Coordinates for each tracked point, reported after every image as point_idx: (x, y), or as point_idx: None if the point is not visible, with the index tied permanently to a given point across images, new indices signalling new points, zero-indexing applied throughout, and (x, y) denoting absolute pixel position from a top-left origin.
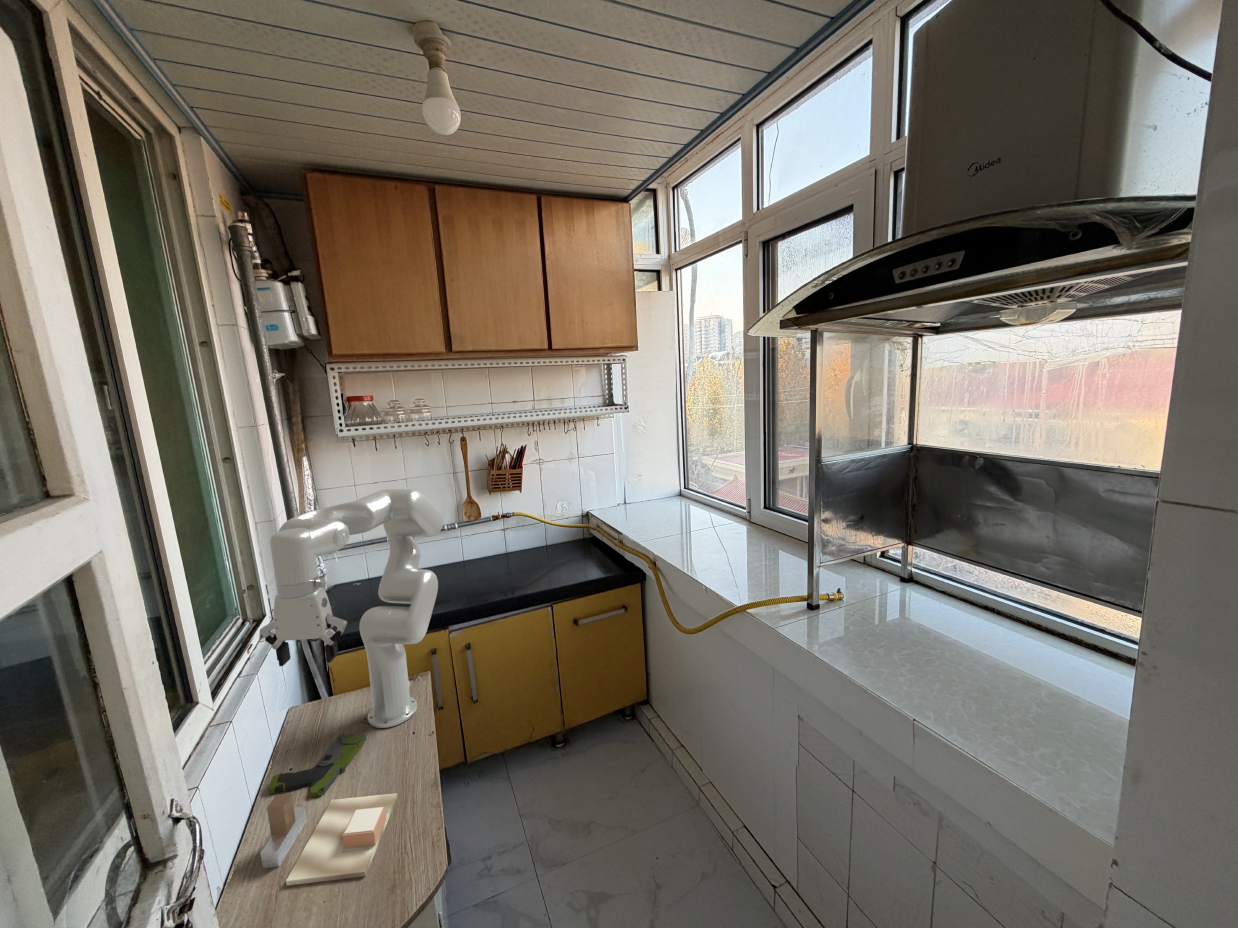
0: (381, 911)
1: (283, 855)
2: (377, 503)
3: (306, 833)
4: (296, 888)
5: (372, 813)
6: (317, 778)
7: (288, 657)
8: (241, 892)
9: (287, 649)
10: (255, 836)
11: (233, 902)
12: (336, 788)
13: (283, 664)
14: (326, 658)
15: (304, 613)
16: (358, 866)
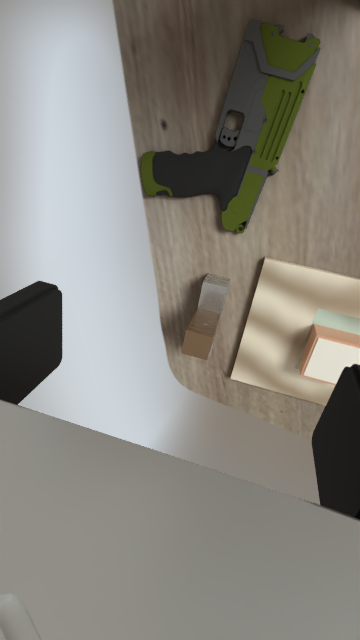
0: None
1: (215, 337)
2: None
3: (236, 304)
4: (244, 383)
5: (347, 356)
6: (228, 192)
7: (51, 316)
8: (181, 362)
9: (10, 340)
10: (163, 281)
11: (177, 370)
12: (267, 219)
13: (59, 361)
14: (315, 460)
15: None
16: (320, 396)
